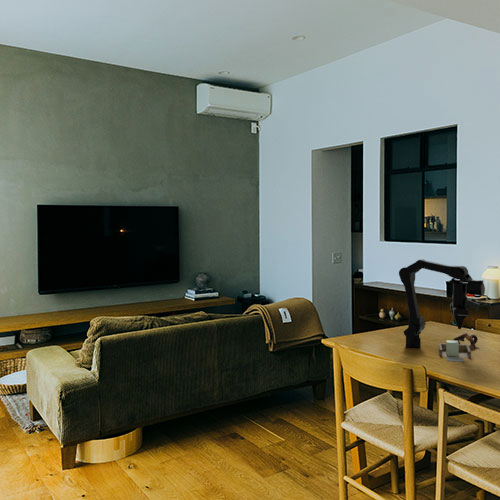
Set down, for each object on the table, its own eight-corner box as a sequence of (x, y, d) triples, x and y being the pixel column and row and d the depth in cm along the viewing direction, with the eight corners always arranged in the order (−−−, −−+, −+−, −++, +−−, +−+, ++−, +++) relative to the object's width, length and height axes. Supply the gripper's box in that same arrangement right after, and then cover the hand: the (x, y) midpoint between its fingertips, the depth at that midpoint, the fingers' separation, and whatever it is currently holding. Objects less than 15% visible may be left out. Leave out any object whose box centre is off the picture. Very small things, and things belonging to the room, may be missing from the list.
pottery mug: (467, 352, 243) (458, 336, 246) (455, 356, 252) (447, 341, 254) (486, 343, 248) (477, 328, 250) (473, 348, 256) (465, 333, 258)
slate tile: (446, 361, 226) (446, 360, 226) (445, 357, 232) (445, 356, 232) (463, 362, 223) (463, 361, 223) (462, 358, 230) (462, 357, 230)
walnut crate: (439, 357, 233) (439, 349, 233) (438, 350, 246) (438, 343, 246) (470, 359, 229) (470, 351, 229) (468, 352, 242) (468, 345, 242)
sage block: (446, 355, 234) (446, 342, 234) (446, 352, 239) (446, 340, 239) (458, 356, 233) (458, 343, 233) (457, 353, 238) (457, 340, 237)
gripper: (481, 297, 225) (480, 332, 226) (475, 291, 243) (474, 324, 244) (454, 296, 228) (453, 330, 229) (450, 290, 246) (449, 322, 247)
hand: (458, 327), depth 238 cm, fingers open, 9 cm apart
